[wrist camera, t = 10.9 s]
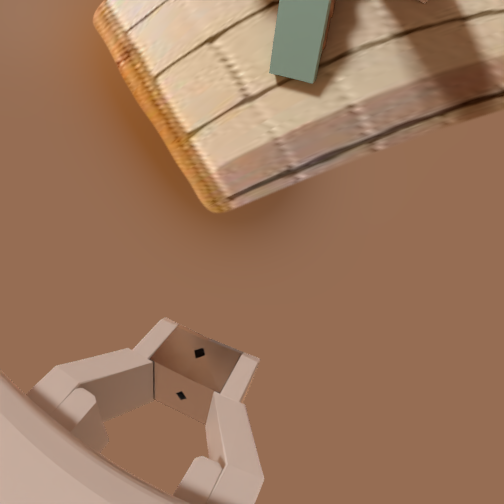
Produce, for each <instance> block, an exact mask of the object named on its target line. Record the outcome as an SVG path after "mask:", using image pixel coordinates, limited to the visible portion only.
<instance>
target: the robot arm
mask: <svg viewBox="0 0 504 504" xmlns="http://www.w3.org/2000/svg"><path fill="white" fill-rule="evenodd" d="M259 362H260V359H259V358H257V357H254V356H252V355H249V354H247V353H244V352H242V351H239V350H237V349H234V348H232V347H230V346H227V345H225V344H222V343H220V342H217V341H215V340H212V339H209V338H207V337H205V336H203V335H201V334H199V333H197V332H195V331H193V330H191V329H189V328H187V327H184V326H183V325H180V324H178V323H176V322H174V321H172V320H170V319H168V318H166V317H165V318H164V319H161V320H160V321H159V322H158V323H157V324H156V325H155V326H154V327H153V328H152V329H151V331H150V332H149V333H148V334H147V335H146V336H145V337H144V338H143V339H142V340H141V341H140V342H139V344H138V345H136V347H135V348H134V349H133V350H131V349H129V348H126V349H122V350H118V351H115V352H111V353H107V354H103V355H99V356H95V357H91V358H87V359H83V360H79V361H75V362H70V363H66V364H62V365H57V366H55V367H54V368H53V369H52V370H51V371H50V372H49V373H48V374H47V375H46V376H45V377H44V378H43V379H41V380H40V381H39V382H38V383H37V384H36V385H35V386H34V387H33V388H32V389H31V390H30V391H29V392H28V393H27V394H25V393H23V392H22V391H21V390H20V389H19V388H18V387H17V386H16V385H15V384H14V383H13V382H12V381H11V380H10V379H9V378H8V377H7V376H6V375H5V374H4V373H3V372H2V371H1V369H0V504H254V503H255V501H256V498H257V496H258V494H259V491H260V488H261V486H262V483H263V481H264V476H263V473H262V469H261V465H260V461H259V458H258V454H257V450H256V446H255V442H254V438H253V434H252V430H251V426H250V422H249V418H248V414H247V410H246V406H245V404H243V402H244V399H245V397H246V395H247V393H248V390H249V388H250V385H251V383H252V380H253V378H254V375H255V373H256V370H257V368H258V365H259ZM154 400H156V401H158V402H161V403H162V404H164V405H166V406H168V407H171V408H173V409H175V410H177V411H179V412H181V413H183V414H185V415H187V416H189V417H191V418H193V419H195V420H197V421H199V422H201V423H203V424H205V425H206V426H205V427H206V436H207V445H208V453H209V459H208V458H206V457H203V456H200V457H197V458H195V459H194V461H193V463H192V464H191V466H190V468H189V469H188V471H187V473H186V474H185V476H184V478H183V480H182V481H181V483H180V484H179V486H178V488H177V489H176V491H175V493H174V494H173V495H171V494H169V493H167V492H165V491H163V490H161V489H159V488H157V487H155V486H153V485H151V484H150V483H148V482H146V481H144V480H142V479H140V478H139V477H137V476H135V475H133V474H131V473H130V472H128V471H126V470H125V469H123V468H122V467H120V466H118V465H117V464H115V463H114V462H112V461H110V460H109V459H107V458H106V457H104V456H103V455H101V454H100V453H101V451H102V450H103V448H104V447H105V446H106V445H107V443H108V442H109V438H108V435H107V432H106V429H105V426H104V423H103V422H105V421H107V420H110V419H112V418H115V417H117V416H119V415H122V414H124V413H127V412H129V411H132V410H134V409H136V408H139V407H141V406H143V405H145V404H148V403H150V402H152V401H154Z"/></svg>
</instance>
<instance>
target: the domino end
mask: <svg viewBox="0 0 504 504" xmlns="http://www.w3.org/2000/svg"><path fill="white" fill-rule="evenodd" d="M330 6H331V1H330V0H279V6H278V14H277V21H276V28H275V35H274V42H273V50H272V57H271V64H270V71H269V73H271V74H276V75H280V76H284V77H288V78H292V79H296V80H300V81H304V82H308V83H312V84H313V83H314V82H315V81H316V76H317V71H318V67H319V62H320V57H321V52H322V47H323V42H324V37H325V32H326V27H327V22H328V16H329V11H330Z"/></svg>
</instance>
